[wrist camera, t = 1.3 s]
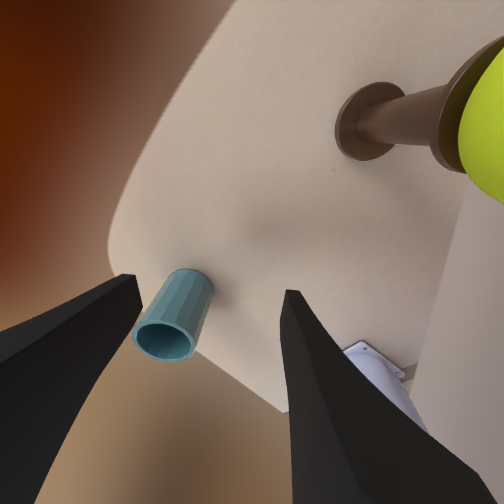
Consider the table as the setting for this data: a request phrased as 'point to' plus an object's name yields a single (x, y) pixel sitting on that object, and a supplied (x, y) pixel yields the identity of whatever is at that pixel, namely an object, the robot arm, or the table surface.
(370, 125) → the stand
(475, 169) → the ball
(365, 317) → the table surface
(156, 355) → the tumbler
